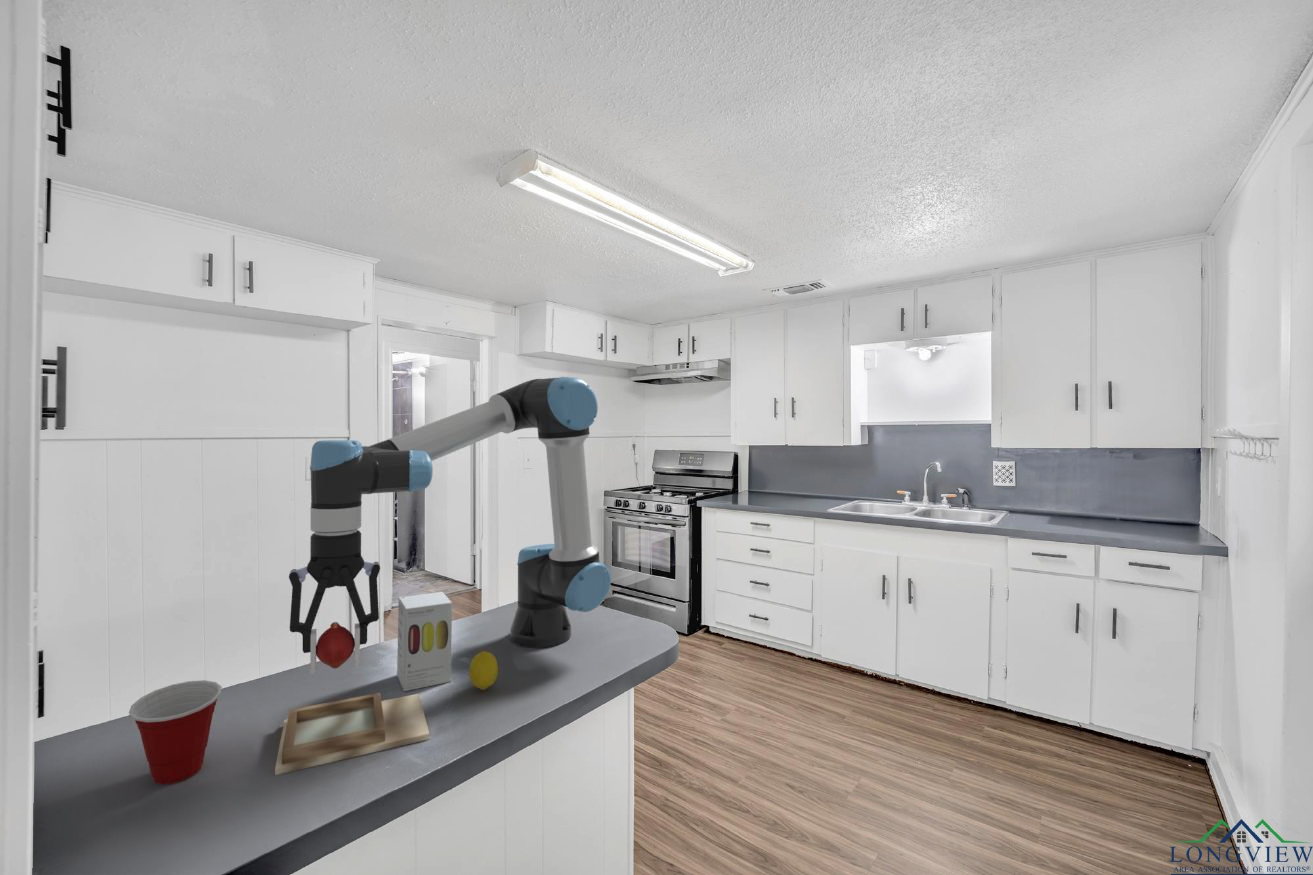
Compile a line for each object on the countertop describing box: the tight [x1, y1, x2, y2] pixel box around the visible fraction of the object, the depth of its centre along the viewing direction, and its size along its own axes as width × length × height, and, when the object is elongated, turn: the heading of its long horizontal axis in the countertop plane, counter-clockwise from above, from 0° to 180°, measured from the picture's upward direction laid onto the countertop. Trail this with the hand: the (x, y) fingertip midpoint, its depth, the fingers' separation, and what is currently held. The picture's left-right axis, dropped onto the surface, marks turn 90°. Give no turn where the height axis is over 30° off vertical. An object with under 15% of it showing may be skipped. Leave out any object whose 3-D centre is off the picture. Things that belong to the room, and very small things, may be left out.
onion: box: [316, 621, 355, 669], centre depth 98 cm, size 6×6×8 cm
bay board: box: [274, 692, 430, 776], centre depth 100 cm, size 22×16×3 cm
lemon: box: [468, 650, 499, 691], centre depth 116 cm, size 6×6×8 cm
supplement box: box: [396, 591, 453, 692], centre depth 121 cm, size 10×9×17 cm
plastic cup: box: [128, 679, 222, 785], centre depth 87 cm, size 11×11×12 cm
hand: (335, 666), depth 98 cm, fingers closed on onion, 6 cm apart
